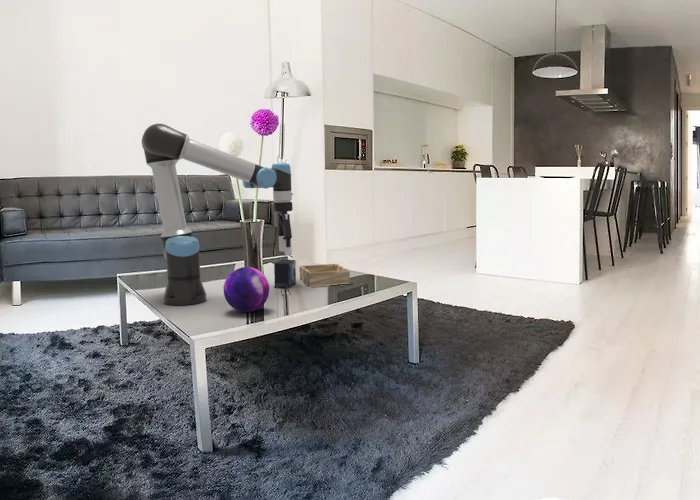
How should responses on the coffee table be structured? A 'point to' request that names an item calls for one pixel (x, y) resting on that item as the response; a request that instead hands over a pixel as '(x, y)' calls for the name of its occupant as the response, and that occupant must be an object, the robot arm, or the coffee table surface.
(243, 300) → the decorative orb
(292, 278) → the small box
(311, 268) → the pine crate
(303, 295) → the coffee table surface
